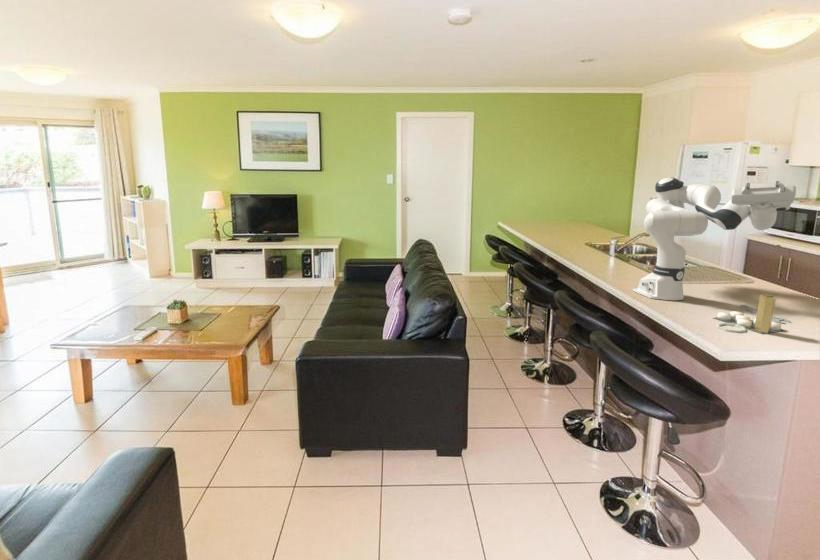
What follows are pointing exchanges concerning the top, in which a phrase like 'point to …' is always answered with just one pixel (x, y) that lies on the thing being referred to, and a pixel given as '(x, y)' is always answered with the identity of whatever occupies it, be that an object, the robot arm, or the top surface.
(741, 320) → the mat
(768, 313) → the coupling nut
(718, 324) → the dish
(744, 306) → the adjustable wrench
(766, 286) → the top surface
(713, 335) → the top surface
